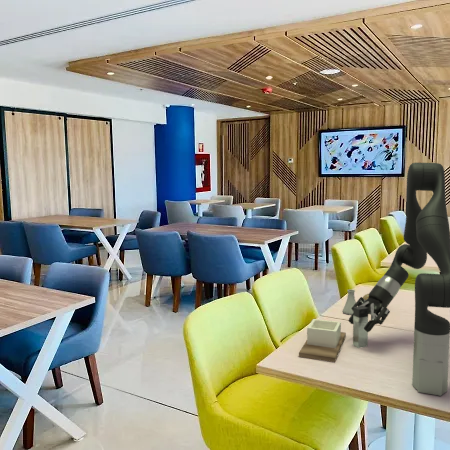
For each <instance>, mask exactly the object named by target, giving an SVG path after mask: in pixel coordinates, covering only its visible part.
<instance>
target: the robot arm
mask: <svg viewBox="0 0 450 450" xmlns="http://www.w3.org/2000/svg"><path fill="white" fill-rule="evenodd" d="M406 173H407V176H406V194H405V195H406V196H405V197H406V198H405V202H406V205H405V224H404V232H403V241H404V242H405V243H406V244H405V243H404V244H401V245H400V246H399V247H397V249H396V251H395V255H394V257H393V259H392V262H391V264H390V267H389V268H388V269H387V271H386V272H384V275H382V277H381V278H380V279H379V280H378V281H377V283H376V284H375V285H374V286H373V288H372V289H370V291H369V293H368V294H369V298H368V299H367V300H365V299H363V296H360V297H359V298H358V300H357V301H356V303H355V304H354V306H353V307H352V308H351V309H352V310H353V313H354V307H358V306H365V307H367V308H368V315H370V319H368V323H367V324H366V326H365V327H364V330H365V331H367V332H368V333H369V332H371V331H372V329H373V328H374V327H375V325H383V323H384V322H385V320H386V319H387V317H388V316H389V314H390V313H391V310H390V309H389V308H388V307H389V305H390V304H391V303H392V301H393V299H394V298H395V297H396V295H398V292H399V290H401V287H402V286H403V285H404V283H406V281H407V280H408V278H409V272H408V270H406V268H404V267H403V265H406V266H408V267H410V268H412V269H414V270H420V269H422V268H424V266H425V265H426V264H427V261H428V260H427V259H428V256H429V257H430V258H431V259H432V260H433V261H434V262H435V265H436V266H437V268H438V270H439V272H440V273H418V274H417V275H416V277H415V281H414V325H413V326H414V330H413V355H412V378H411V380H412V381H411V382H412V384H411V385H412V387H413V388H414V389H416V390H417V393H422V394H426V395H427V394H429V395H432V396H433V395H434V396H439V397H442V396H443V394H445V393H447V392H448V384H449V383H448V381H449V358H450V321H449V320H448V319H446V318H445V317H443V316H441V315H438V314H436V313H434V312H432V311H430V310H429V309H428V308H443V309H444V308H445V309H446V308H447V309H450V223H449V222H450V221H449V216H448V209H447V208H448V207H447V201H446V177H445V169H444V166H443V165H442V164H441V163H438V162H411V164H410V165H409V167H408V170H407V172H406ZM417 191H419V192H420V191H425V192H429V191H430V192H432V196H431V197H430V199H429V200H428V202H427V203H426V204H425V206H424V207H423V208H421V205H420V204H419V201H418V199H417ZM348 322H349V323H350V324H351V325H353V314H352V315H350V316H349V318H348Z"/></svg>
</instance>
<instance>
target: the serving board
mask: <svg viewBox="0 0 450 450" xmlns="http://www.w3.org/2000/svg"><path fill="white" fill-rule="evenodd" d="M346 336H347V333H346V332H343V331H341V338H340V340H339V343H338V345H337V347H336V348H330V347H323V346H316V345H309V344H307V339H306V340H305V342H304V343H303V345H302V347H301V349H300V350H299V352H298V357H299V358H304V359H311V360H317V361H323V362H332V363H336V360H337V359H338V356H339V354H340V352H341V349H342V347H343V344H344V341H345V339H346Z"/></svg>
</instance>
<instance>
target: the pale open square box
mask: <svg viewBox="0 0 450 450" xmlns="http://www.w3.org/2000/svg"><path fill="white" fill-rule="evenodd" d="M341 329H342V322H341V321H335V320H334V321H333V320H326V319H316V318H313V319H312V320H311V321H310V323H309V324H308V326H307V327H306V334H307V335H306V337H307V338H306V340H307V344H309V345H316V346H323V347H330V348H336V347H337V345H338V343H339V340H340V338H341V332H342V330H341Z"/></svg>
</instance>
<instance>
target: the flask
mask: <svg viewBox="0 0 450 450" xmlns="http://www.w3.org/2000/svg"><path fill="white" fill-rule="evenodd" d="M346 290H347V299H346V301H345V304H344V305H343V306H344V307H343V309H342V313H343V314H346V315H349V316H351V315H352V314H353V310H352V309H351V308H352V307H353V306H354V304H355V303H356V302H357V301H356V297H355V292H356V290H355V289H351V288H350V289H346Z"/></svg>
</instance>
